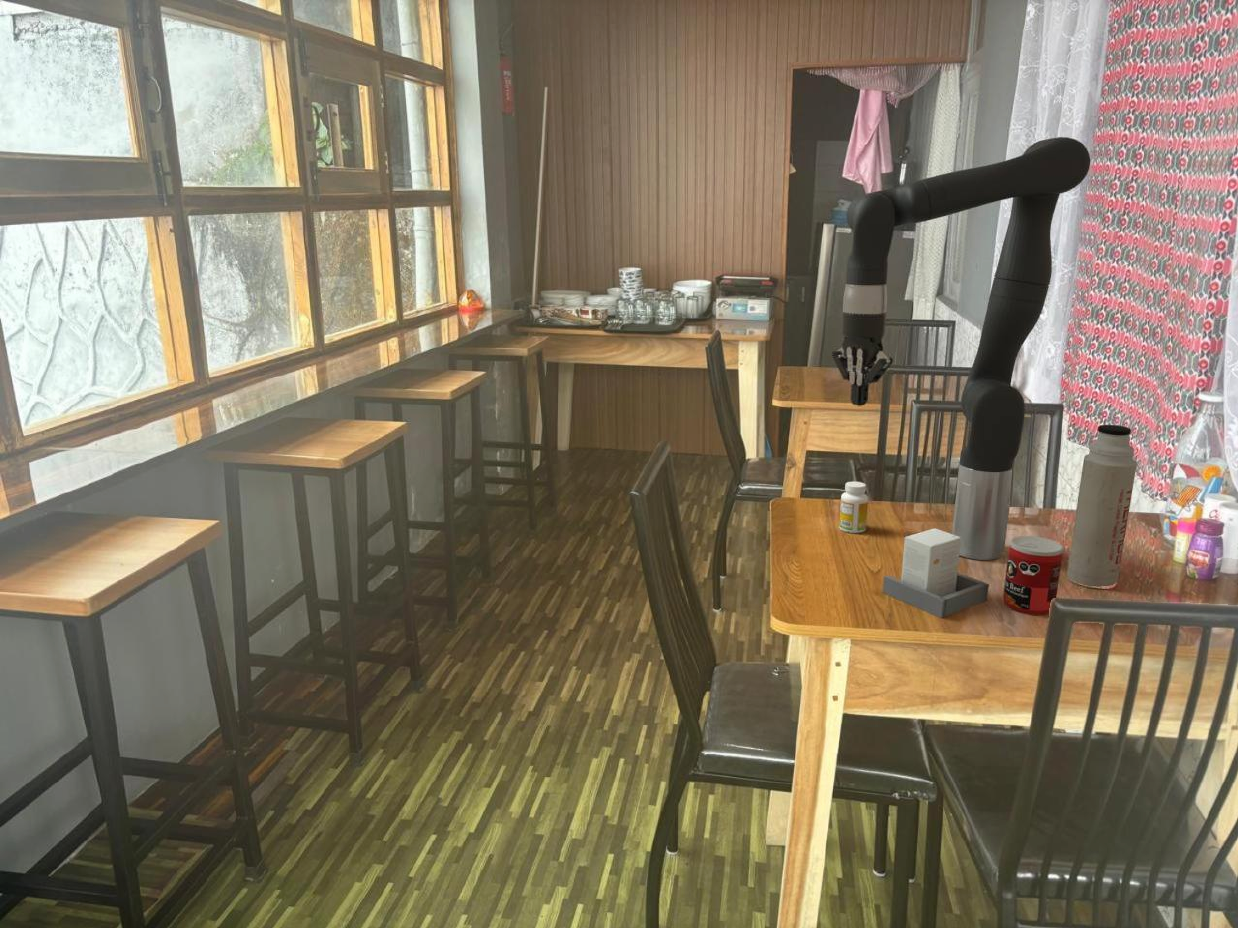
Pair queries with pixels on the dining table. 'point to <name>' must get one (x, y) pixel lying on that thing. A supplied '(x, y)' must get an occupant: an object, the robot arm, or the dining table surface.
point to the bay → (965, 596)
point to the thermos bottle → (1102, 508)
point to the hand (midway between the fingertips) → (858, 404)
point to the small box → (931, 561)
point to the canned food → (1032, 574)
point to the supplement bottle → (853, 508)
